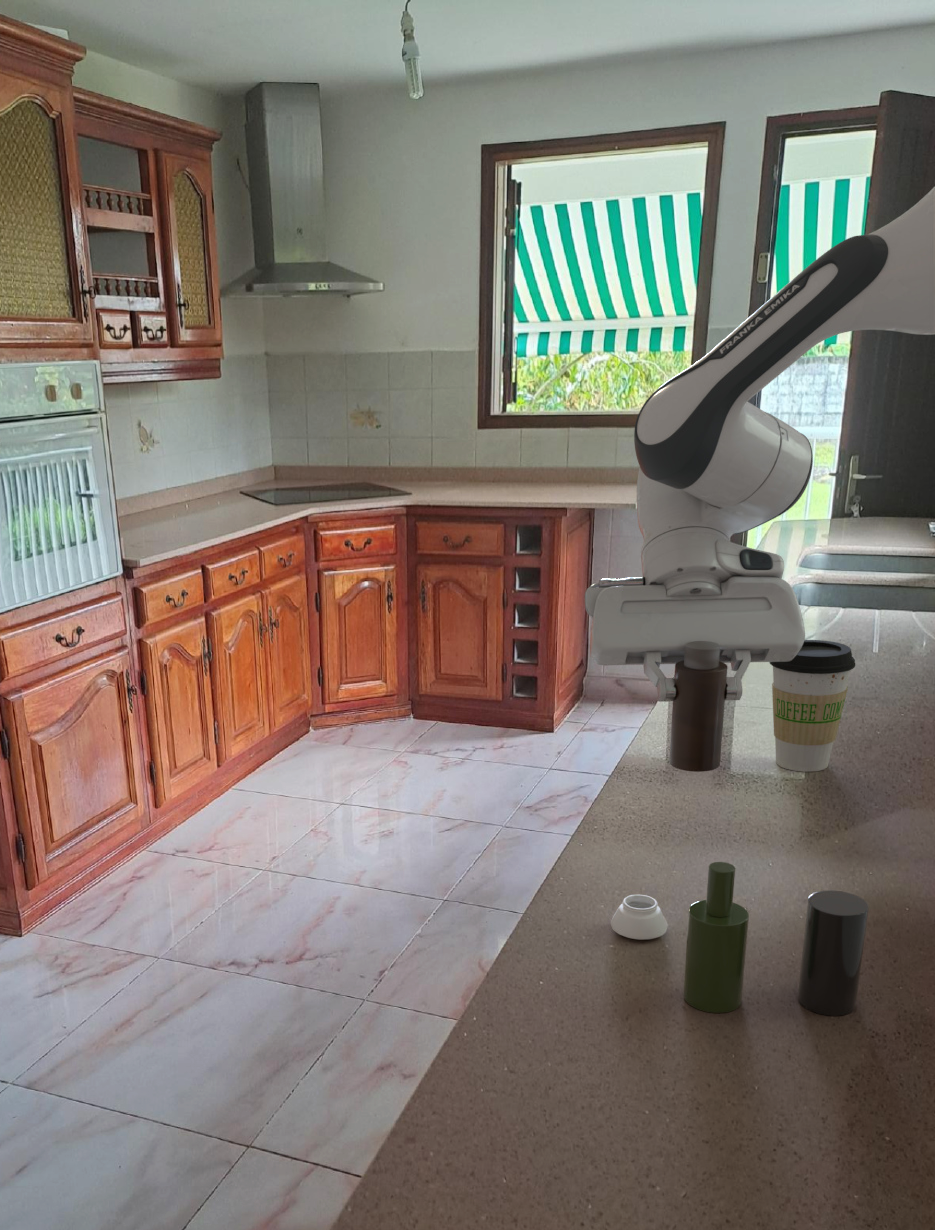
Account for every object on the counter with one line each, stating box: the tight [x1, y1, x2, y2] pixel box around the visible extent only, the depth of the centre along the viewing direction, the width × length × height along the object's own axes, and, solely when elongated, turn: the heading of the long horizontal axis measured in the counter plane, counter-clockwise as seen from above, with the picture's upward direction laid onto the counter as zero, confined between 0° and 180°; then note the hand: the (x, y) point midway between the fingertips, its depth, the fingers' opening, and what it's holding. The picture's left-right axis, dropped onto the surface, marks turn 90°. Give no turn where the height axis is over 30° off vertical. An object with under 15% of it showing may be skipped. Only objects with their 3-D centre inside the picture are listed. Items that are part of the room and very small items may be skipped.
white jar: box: [610, 894, 669, 941], centre depth 104 cm, size 5×3×5 cm
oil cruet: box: [682, 861, 750, 1014], centre depth 91 cm, size 5×5×12 cm
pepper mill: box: [668, 641, 728, 773], centre depth 109 cm, size 5×5×12 cm
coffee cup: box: [768, 639, 856, 773], centre depth 140 cm, size 10×10×15 cm
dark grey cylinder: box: [797, 890, 870, 1017], centre depth 90 cm, size 4×4×9 cm
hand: (700, 698), depth 108 cm, fingers closed on pepper mill, 5 cm apart
